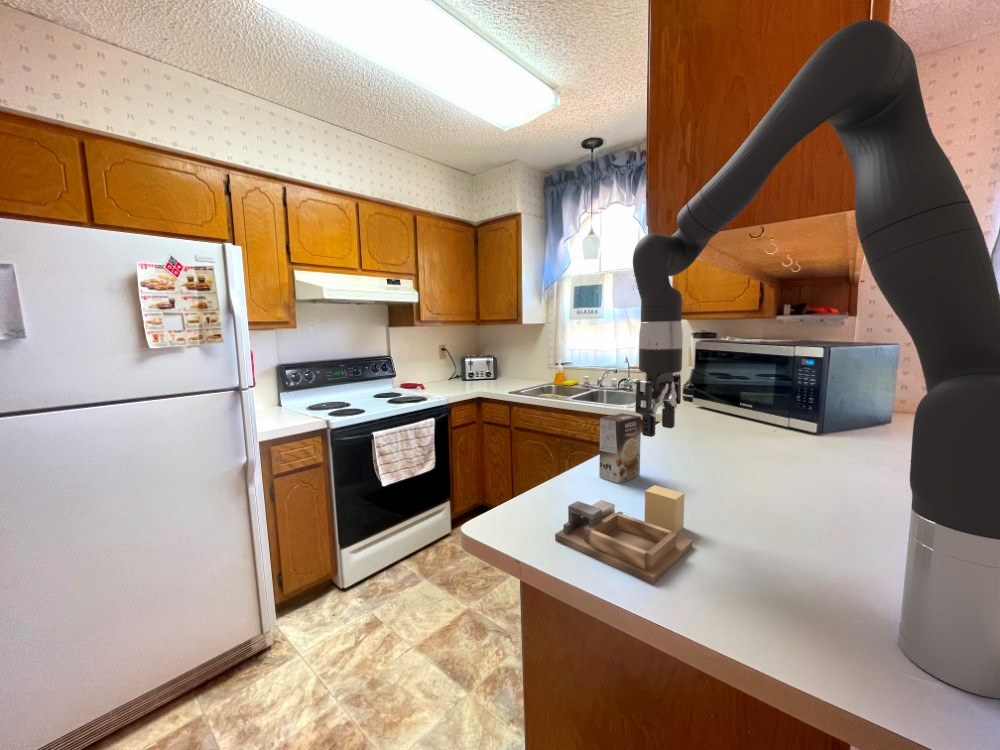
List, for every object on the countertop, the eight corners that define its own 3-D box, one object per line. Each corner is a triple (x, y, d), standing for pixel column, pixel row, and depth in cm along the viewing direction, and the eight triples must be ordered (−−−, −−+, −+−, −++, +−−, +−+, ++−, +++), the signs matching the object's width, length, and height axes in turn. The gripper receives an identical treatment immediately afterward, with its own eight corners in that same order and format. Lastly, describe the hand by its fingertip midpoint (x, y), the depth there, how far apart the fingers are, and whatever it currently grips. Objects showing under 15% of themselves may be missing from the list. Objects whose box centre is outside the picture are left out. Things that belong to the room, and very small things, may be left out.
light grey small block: (614, 518, 80) (614, 504, 80) (600, 527, 77) (600, 512, 77) (601, 514, 82) (601, 500, 82) (587, 522, 79) (587, 507, 79)
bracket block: (683, 527, 79) (684, 493, 78) (674, 535, 76) (675, 499, 76) (653, 517, 83) (654, 485, 83) (644, 524, 81) (645, 490, 80)
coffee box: (618, 484, 101) (619, 421, 100) (598, 477, 106) (598, 417, 105) (640, 476, 107) (641, 416, 105) (620, 469, 112) (621, 412, 110)
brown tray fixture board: (692, 546, 72) (693, 515, 71) (653, 584, 62) (654, 547, 61) (599, 513, 86) (599, 486, 85) (555, 539, 76) (554, 509, 75)
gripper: (663, 348, 68) (662, 443, 70) (695, 344, 78) (693, 427, 79) (622, 348, 73) (622, 435, 75) (657, 344, 83) (656, 422, 85)
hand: (658, 431), depth 77 cm, fingers open, 8 cm apart
